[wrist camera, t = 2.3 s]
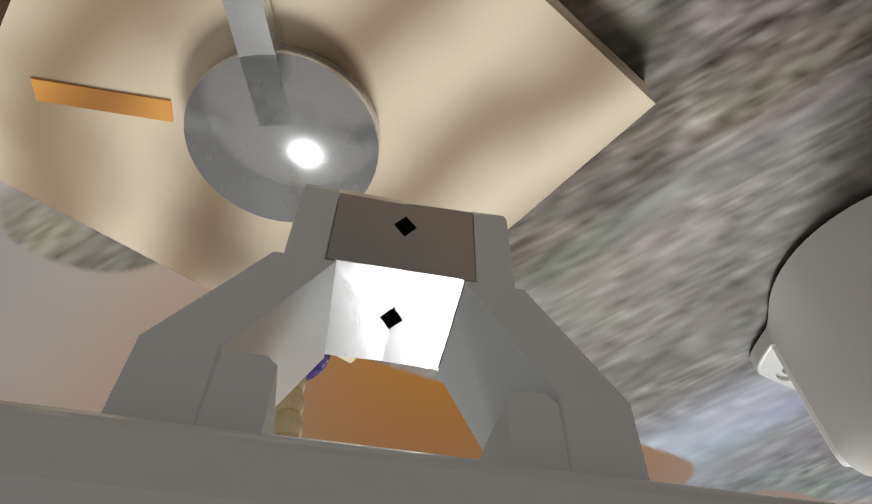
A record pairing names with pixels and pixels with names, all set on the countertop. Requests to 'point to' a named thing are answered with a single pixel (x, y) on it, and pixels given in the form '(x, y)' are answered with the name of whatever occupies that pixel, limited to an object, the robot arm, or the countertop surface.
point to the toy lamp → (295, 405)
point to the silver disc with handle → (278, 120)
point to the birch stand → (343, 45)
